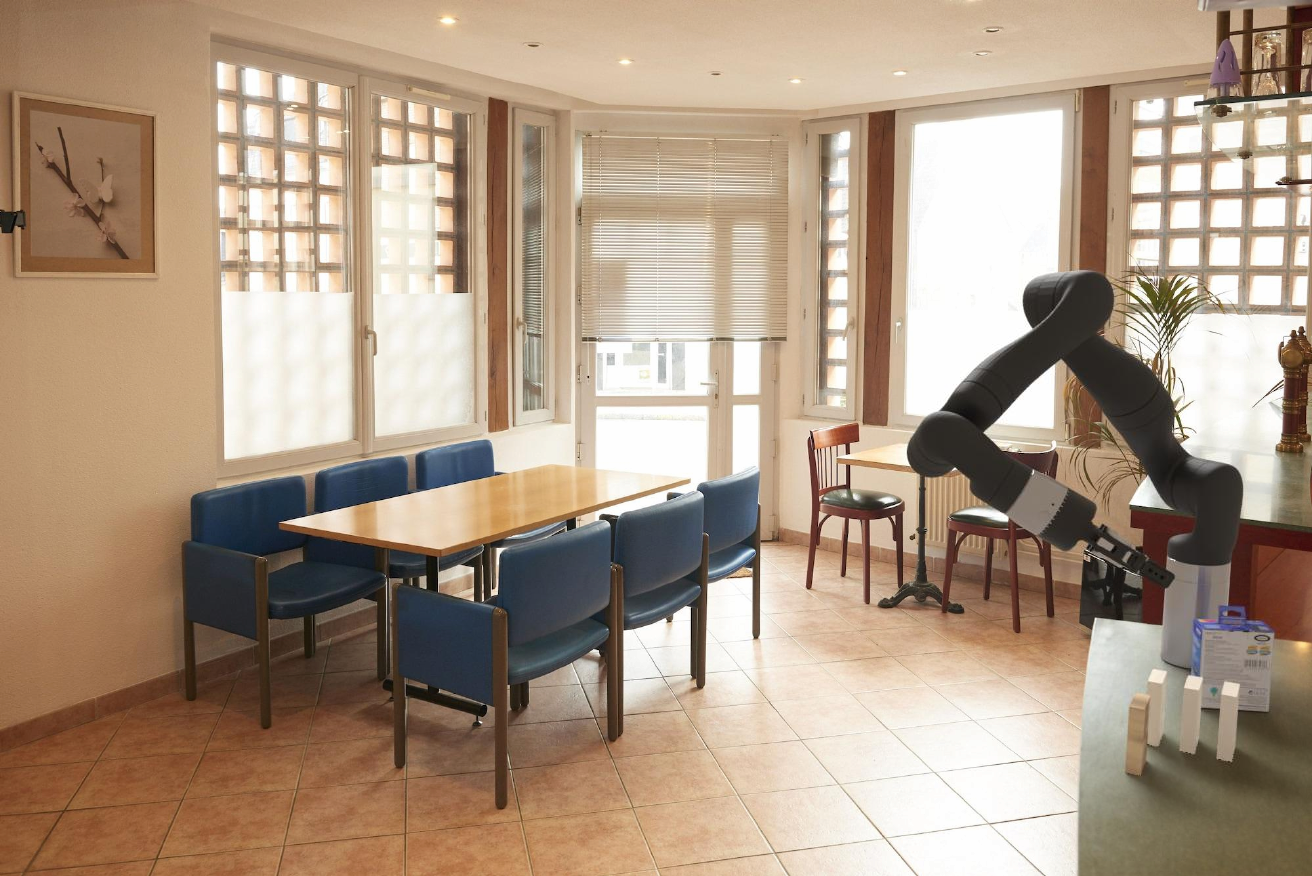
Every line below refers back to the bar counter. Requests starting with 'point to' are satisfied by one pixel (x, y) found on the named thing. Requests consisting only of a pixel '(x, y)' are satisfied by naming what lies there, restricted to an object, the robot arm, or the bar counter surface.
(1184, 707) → the ivory domino
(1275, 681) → the bar counter surface
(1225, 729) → the ivory domino
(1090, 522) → the robot arm
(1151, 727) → the ivory domino
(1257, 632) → the ink cartridge box
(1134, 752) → the oak domino
